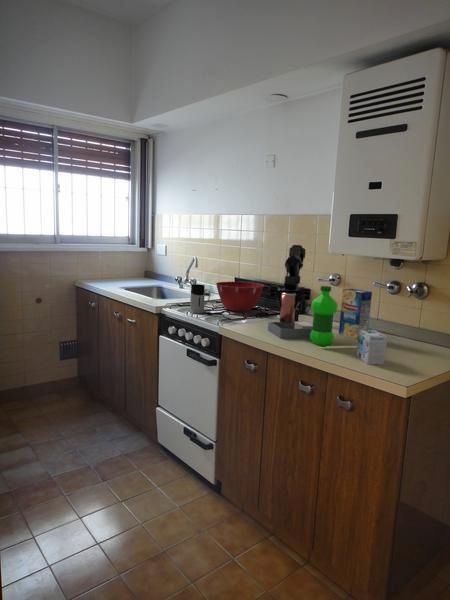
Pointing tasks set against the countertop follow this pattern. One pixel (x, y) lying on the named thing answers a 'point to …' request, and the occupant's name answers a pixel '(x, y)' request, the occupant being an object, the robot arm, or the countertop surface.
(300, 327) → the egg carton
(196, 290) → the grey handled cylinder
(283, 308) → the tin can
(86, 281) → the countertop surface
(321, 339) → the plastic bottle
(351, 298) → the blue food box
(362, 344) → the light bulb box
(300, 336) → the tote
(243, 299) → the mixing bowl
